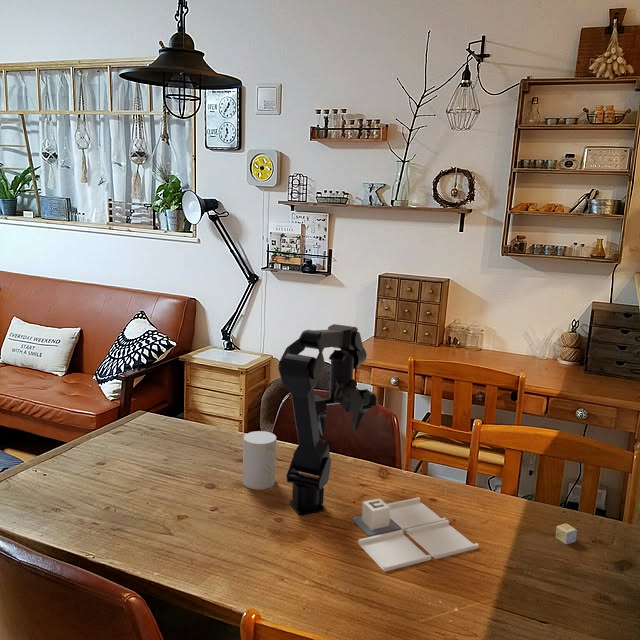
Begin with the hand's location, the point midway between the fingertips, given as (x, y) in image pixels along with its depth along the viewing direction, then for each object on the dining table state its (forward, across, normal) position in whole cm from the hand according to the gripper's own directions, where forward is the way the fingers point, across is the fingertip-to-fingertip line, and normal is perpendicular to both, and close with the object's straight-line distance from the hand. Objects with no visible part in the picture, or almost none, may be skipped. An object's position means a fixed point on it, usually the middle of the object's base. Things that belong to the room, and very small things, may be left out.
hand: (338, 432), depth 165 cm
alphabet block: (+12, +33, -46) cm, 58 cm away
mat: (+12, -3, -25) cm, 28 cm away
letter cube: (+12, -3, -25) cm, 28 cm away
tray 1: (+12, +7, -25) cm, 28 cm away
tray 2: (+12, -5, -36) cm, 38 cm away
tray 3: (+12, +7, -36) cm, 39 cm away
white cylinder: (+12, -20, +4) cm, 24 cm away
